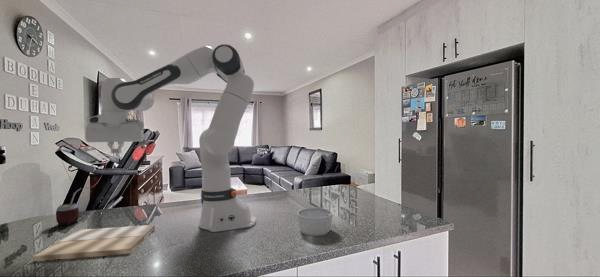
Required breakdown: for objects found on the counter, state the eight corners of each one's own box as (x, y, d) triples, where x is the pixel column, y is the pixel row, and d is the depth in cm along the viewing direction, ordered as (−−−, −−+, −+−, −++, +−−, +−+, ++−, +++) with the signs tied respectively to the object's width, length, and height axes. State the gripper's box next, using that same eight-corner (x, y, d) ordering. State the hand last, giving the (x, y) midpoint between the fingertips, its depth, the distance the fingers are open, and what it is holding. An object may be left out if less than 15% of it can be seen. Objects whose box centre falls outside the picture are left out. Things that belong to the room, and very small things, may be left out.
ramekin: (301, 239, 91) (301, 219, 91) (293, 226, 104) (293, 208, 104) (337, 235, 94) (337, 216, 94) (325, 223, 107) (325, 206, 107)
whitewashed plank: (154, 228, 102) (154, 224, 101) (144, 239, 92) (144, 235, 92) (78, 234, 97) (78, 229, 97) (58, 246, 87) (58, 241, 87)
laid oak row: (143, 240, 91) (143, 235, 91) (130, 253, 81) (130, 248, 81) (57, 247, 87) (57, 242, 87) (32, 261, 77) (32, 256, 77)
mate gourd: (55, 224, 108) (54, 188, 108) (80, 219, 114) (79, 185, 113) (56, 229, 103) (55, 191, 103) (82, 224, 108) (81, 187, 108)
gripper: (146, 119, 112) (147, 152, 112) (91, 119, 108) (92, 153, 108) (139, 118, 105) (140, 153, 106) (82, 118, 102) (83, 154, 102)
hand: (116, 153), depth 107 cm, fingers closed
